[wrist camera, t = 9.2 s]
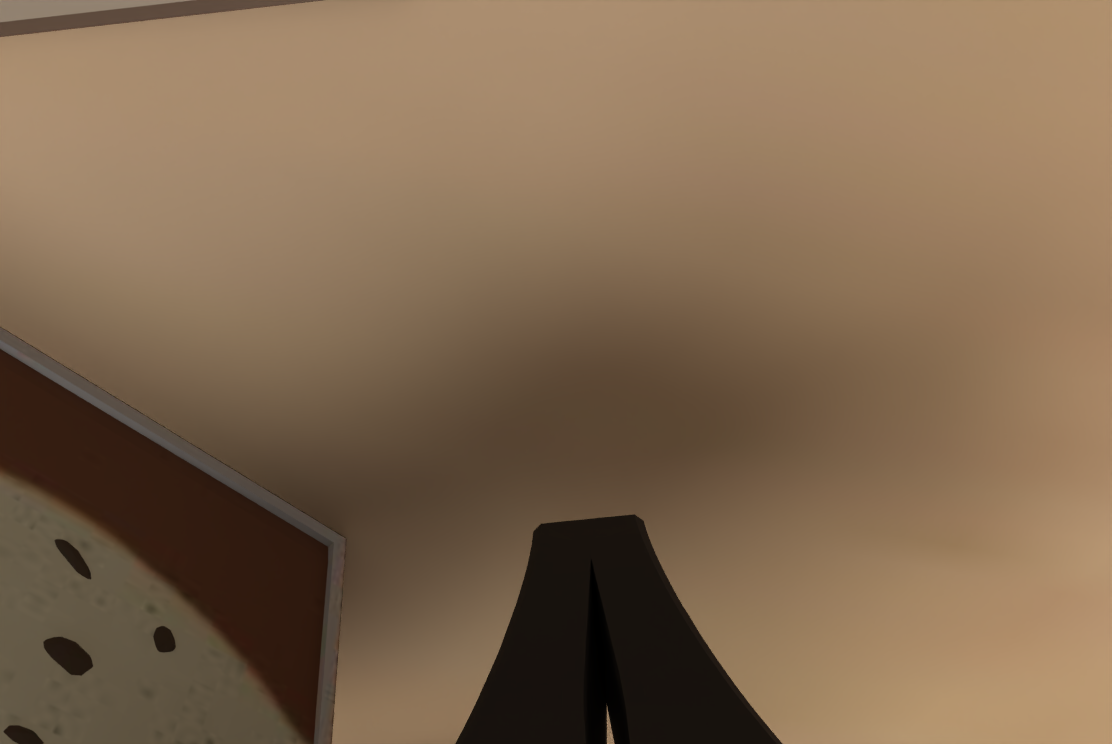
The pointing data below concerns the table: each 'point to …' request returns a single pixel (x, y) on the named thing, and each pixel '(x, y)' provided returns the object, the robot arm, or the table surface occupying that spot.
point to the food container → (150, 581)
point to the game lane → (108, 12)
